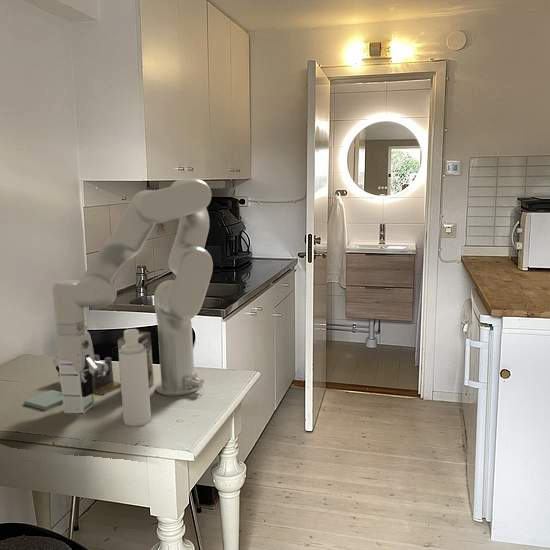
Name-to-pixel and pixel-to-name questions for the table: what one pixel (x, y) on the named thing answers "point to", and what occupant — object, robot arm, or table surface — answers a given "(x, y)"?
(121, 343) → the coffee box
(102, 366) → the shaft
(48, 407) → the grey-green square pad
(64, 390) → the syrup box
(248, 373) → the table surface
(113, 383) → the bracket
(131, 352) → the spray bottle
